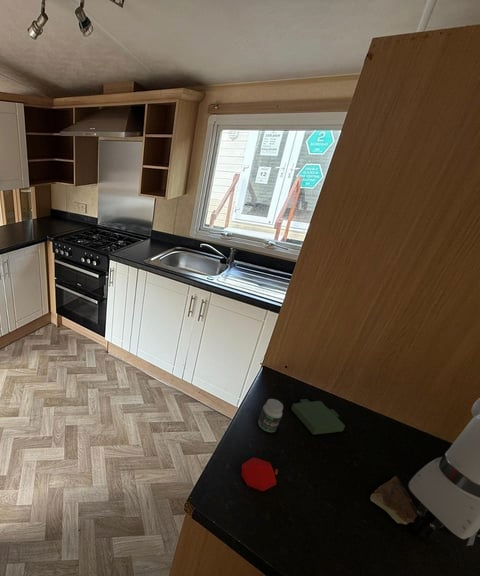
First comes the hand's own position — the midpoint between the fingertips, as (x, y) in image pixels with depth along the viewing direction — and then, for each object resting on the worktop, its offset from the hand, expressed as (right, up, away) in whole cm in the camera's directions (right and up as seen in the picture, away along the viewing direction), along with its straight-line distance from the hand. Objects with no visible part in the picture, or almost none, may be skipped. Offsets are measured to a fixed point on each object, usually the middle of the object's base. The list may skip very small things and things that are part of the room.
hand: (421, 531), depth 64 cm
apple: (-29, +4, +10) cm, 31 cm away
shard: (-1, +2, +7) cm, 7 cm away
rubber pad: (-3, +12, +26) cm, 29 cm away
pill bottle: (-18, +11, +24) cm, 32 cm away
